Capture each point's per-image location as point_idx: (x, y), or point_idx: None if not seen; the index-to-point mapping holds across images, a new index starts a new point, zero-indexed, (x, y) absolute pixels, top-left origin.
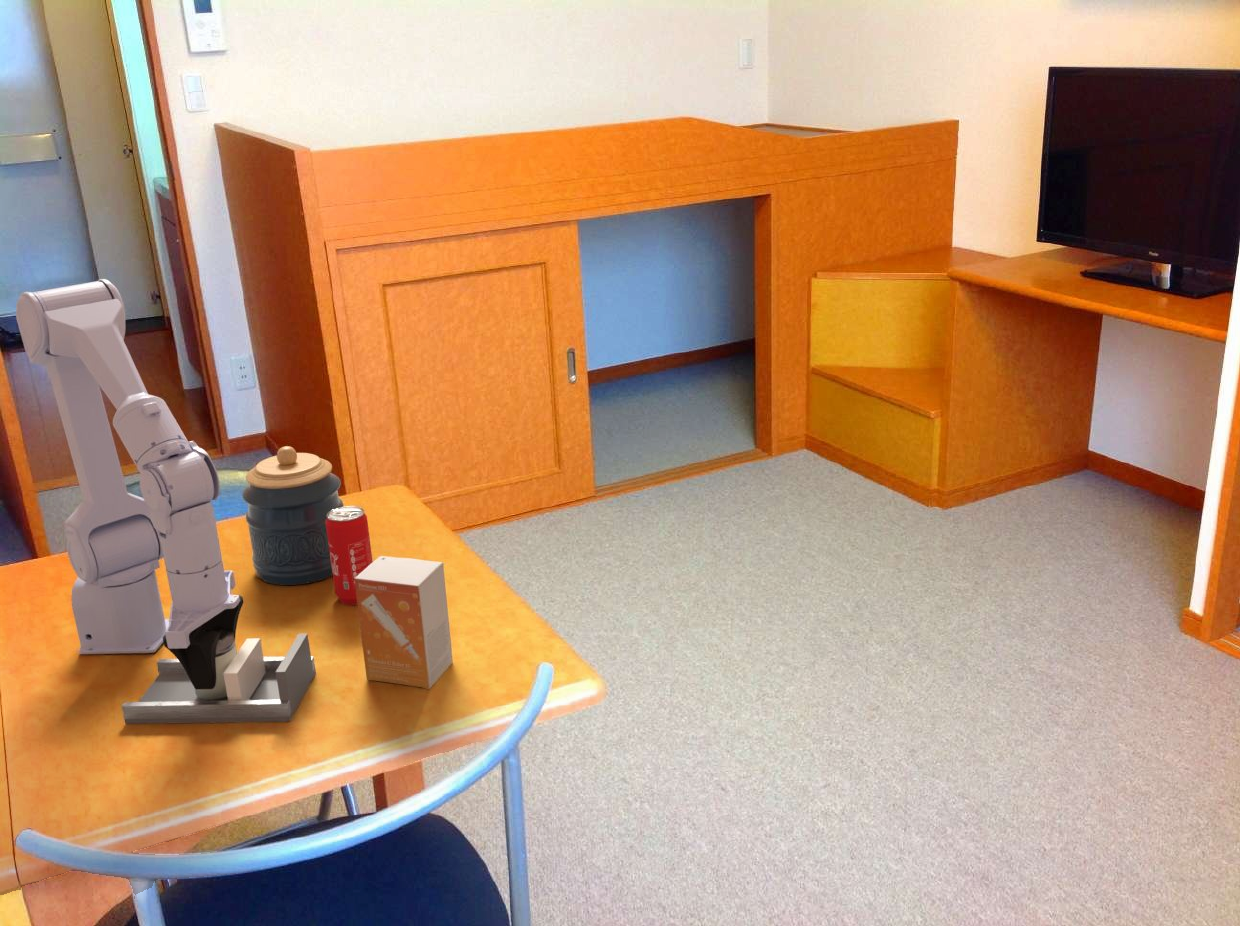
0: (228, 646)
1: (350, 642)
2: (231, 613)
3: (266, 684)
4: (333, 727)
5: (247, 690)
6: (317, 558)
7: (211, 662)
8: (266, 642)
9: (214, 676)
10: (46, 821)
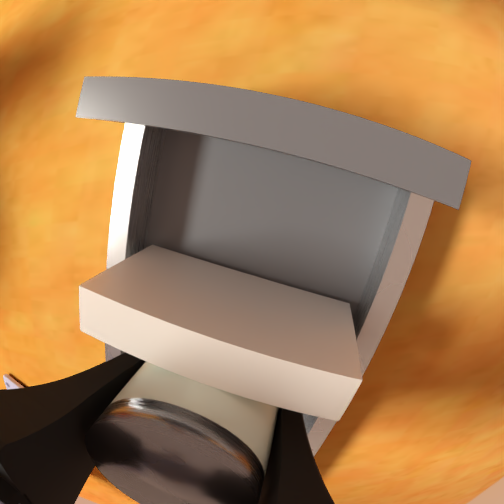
0: (215, 444)
1: (56, 57)
2: (33, 449)
3: (209, 239)
4: (468, 60)
5: (298, 303)
6: None
7: (322, 481)
8: (28, 246)
9: (297, 425)
10: (478, 491)
